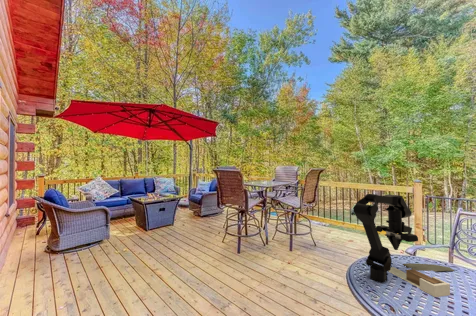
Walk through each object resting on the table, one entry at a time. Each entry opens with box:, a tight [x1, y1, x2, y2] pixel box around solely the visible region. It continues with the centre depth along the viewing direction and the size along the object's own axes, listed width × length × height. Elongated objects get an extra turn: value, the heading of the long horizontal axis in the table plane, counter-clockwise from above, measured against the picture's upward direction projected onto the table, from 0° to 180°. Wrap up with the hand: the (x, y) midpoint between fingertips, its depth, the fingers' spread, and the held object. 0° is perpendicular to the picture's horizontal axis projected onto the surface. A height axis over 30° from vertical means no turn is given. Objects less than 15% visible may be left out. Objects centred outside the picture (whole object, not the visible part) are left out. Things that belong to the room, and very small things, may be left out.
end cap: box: [419, 276, 451, 298], centre depth 91 cm, size 8×6×4 cm
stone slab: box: [402, 262, 455, 273], centre depth 114 cm, size 22×3×10 cm
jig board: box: [387, 266, 448, 297], centre depth 100 cm, size 7×26×1 cm, turn 11°
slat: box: [405, 268, 442, 286], centre depth 95 cm, size 4×12×4 cm, turn 12°
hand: (395, 249), depth 108 cm, fingers closed
